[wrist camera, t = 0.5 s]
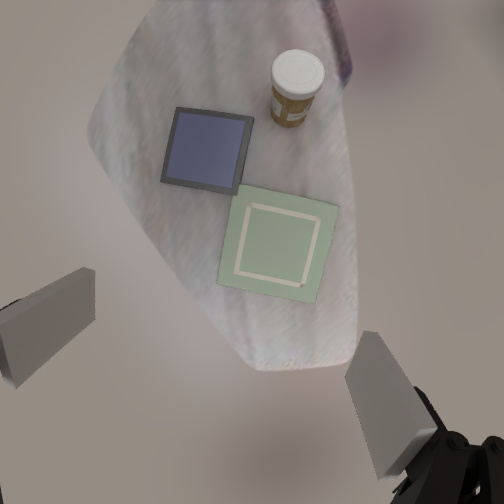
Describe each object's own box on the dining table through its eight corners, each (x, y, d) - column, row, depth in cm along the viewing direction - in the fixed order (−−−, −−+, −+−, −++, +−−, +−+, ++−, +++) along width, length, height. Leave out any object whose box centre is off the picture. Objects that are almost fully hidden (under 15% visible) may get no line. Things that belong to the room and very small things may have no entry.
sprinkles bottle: (302, 131, 34) (320, 100, 21) (266, 123, 34) (265, 86, 21) (309, 99, 33) (330, 55, 20) (274, 91, 33) (277, 42, 20)
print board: (236, 183, 36) (235, 182, 35) (337, 205, 35) (339, 206, 34) (217, 282, 38) (216, 284, 37) (313, 301, 38) (314, 304, 37)
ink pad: (178, 108, 34) (175, 106, 33) (253, 119, 34) (253, 116, 32) (162, 182, 36) (159, 182, 35) (237, 195, 36) (236, 195, 35)
